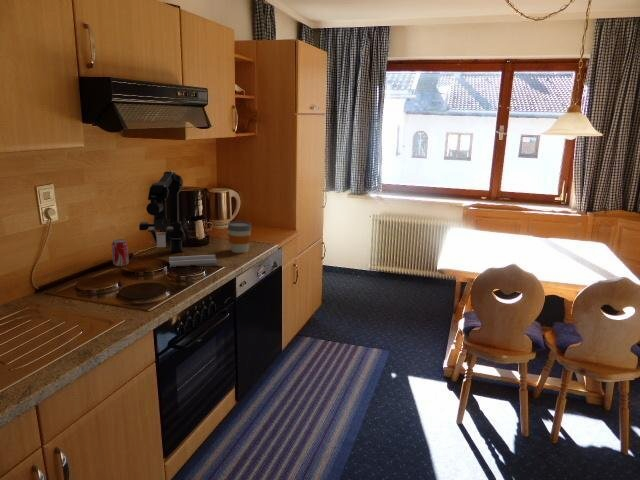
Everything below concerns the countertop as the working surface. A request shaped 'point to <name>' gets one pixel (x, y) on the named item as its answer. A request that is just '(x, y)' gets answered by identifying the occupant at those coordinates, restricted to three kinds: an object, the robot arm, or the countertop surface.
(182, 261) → the rail
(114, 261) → the soda can
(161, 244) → the block
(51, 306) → the countertop surface
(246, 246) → the reusable coffee cup
